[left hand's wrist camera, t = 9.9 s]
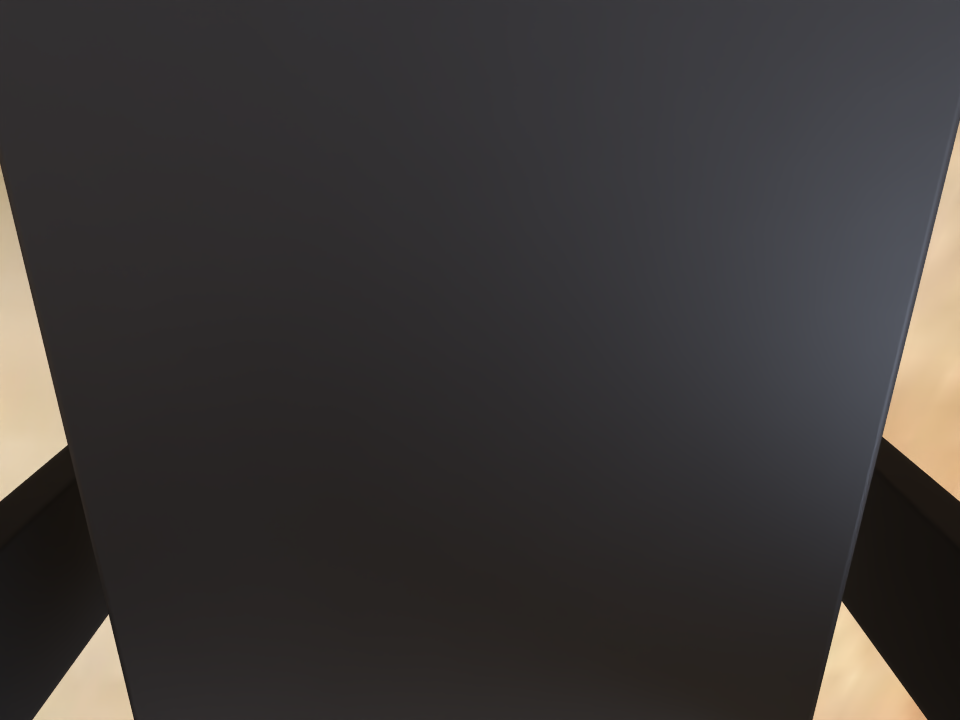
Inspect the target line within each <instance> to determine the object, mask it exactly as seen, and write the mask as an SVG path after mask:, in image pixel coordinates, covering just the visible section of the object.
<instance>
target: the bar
mask: <svg viewBox="0 0 960 720" xmlns="http://www.w3.org/2000/svg"><path fill="white" fill-rule="evenodd" d="M959 121H960V0H0V165H1V169H2V173H3V177H4V181H5V186H6V190H7V194H8V198H9V202H10V206H11V210H12V215H13V219H14V223H15V227H16V231H17V235H18V240H19V244H20V248H21V252H22V256H23V260H24V264H25V269H26V273H27V277H28V281H29V285H30V289H31V294H32V298H33V302H34V306H35V310H36V314H37V318H38V323H39V327H40V331H41V335H42V339H43V343H44V347H45V352H46V356H47V360H48V364H49V368H50V372H51V377H52V381H53V385H54V389H55V393H56V397H57V401H58V406H59V410H60V414H61V418H62V422H63V426H64V431H65V435H66V439H67V443H68V447H69V451H70V455H71V460H72V464H73V468H74V472H75V476H76V480H77V485H78V489H79V493H80V497H81V501H82V505H83V509H84V514H85V518H86V522H87V526H88V530H89V534H90V539H91V543H92V547H93V551H94V555H95V559H96V563H97V568H98V572H99V576H100V580H101V584H102V588H103V592H104V597H105V601H106V605H107V609H108V613H109V617H110V622H111V626H112V630H113V634H114V638H115V642H116V646H117V651H118V655H119V659H120V663H121V667H122V671H123V676H124V680H125V684H126V688H127V692H128V696H129V700H130V705H131V709H132V713H133V717H134V720H813V716H814V712H815V707H816V703H817V699H818V695H819V691H820V687H821V683H822V679H823V675H824V671H825V667H826V663H827V659H828V655H829V650H830V646H831V642H832V638H833V634H834V630H835V626H836V622H837V618H838V614H839V610H840V606H841V602H842V598H843V593H844V589H845V585H846V581H847V577H848V573H849V569H850V565H851V561H852V557H853V553H854V549H855V545H856V541H857V536H858V532H859V528H860V524H861V520H862V516H863V512H864V508H865V504H866V500H867V496H868V492H869V488H870V484H871V479H872V475H873V471H874V467H875V463H876V459H877V455H878V451H879V447H880V443H881V439H882V435H883V431H884V427H885V422H886V418H887V414H888V410H889V406H890V402H891V398H892V394H893V390H894V386H895V382H896V378H897V374H898V370H899V365H900V361H901V357H902V353H903V349H904V345H905V341H906V337H907V333H908V329H909V325H910V321H911V317H912V313H913V308H914V304H915V300H916V296H917V292H918V288H919V284H920V280H921V276H922V272H923V268H924V264H925V260H926V256H927V251H928V247H929V243H930V239H931V235H932V231H933V227H934V223H935V219H936V215H937V211H938V207H939V203H940V199H941V194H942V190H943V186H944V182H945V178H946V174H947V170H948V166H949V162H950V158H951V154H952V150H953V146H954V142H955V137H956V133H957V129H958V125H959Z"/></svg>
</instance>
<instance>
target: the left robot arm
mask: <svg viewBox="0 0 960 720" xmlns="http://www.w3.org/2000/svg"><path fill="white" fill-rule="evenodd" d="M842 602H843V603H844V605H845V606H846V607H847V609H848V610H849V612H850V613H851V614H852V616H853V617H854V618H855V620H856V621H857V623H858V624H859V625H860V627H861V628H862V630H863V631H864V632H865V634H866V635H867V636H868V638H869V639H870V641H871V642H872V643H873V645H874V646H875V648H876V649H877V650H878V652H879V653H880V654H881V656H882V657H883V659H884V660H885V661H886V663H887V664H888V666H889V667H890V668H891V670H892V671H893V673H894V674H895V675H896V677H897V678H898V679H899V681H900V682H901V684H902V685H903V686H904V688H905V689H906V691H907V692H908V693H909V695H910V696H911V697H912V699H913V700H914V702H915V703H916V704H917V706H918V707H919V709H920V710H921V711H922V713H923V714H924V715H925V717H926V718H927V720H960V501H958V500H957V499H956V498H955V497H954V496H952V495H951V494H950V493H949V492H948V491H946V490H945V489H944V488H943V487H942V486H940V485H939V484H938V483H937V482H936V481H935V480H933V479H932V478H931V477H930V476H929V475H927V474H926V473H925V472H924V471H923V470H921V469H920V468H919V467H918V466H917V465H915V464H914V463H913V462H912V461H911V460H909V459H908V458H907V457H906V456H905V455H903V454H902V453H901V452H900V451H899V450H898V449H896V448H895V447H894V446H893V445H892V444H890V443H889V442H888V441H887V440H886V439H884V438H883V437H882V439H881V443H880V447H879V451H878V455H877V459H876V463H875V467H874V471H873V475H872V479H871V484H870V488H869V492H868V496H867V500H866V504H865V508H864V512H863V516H862V520H861V524H860V528H859V532H858V536H857V541H856V545H855V549H854V553H853V557H852V561H851V565H850V569H849V573H848V577H847V581H846V585H845V589H844V593H843V598H842ZM108 614H109V613H108V609H107V605H106V601H105V597H104V592H103V588H102V584H101V580H100V576H99V572H98V568H97V563H96V559H95V555H94V551H93V547H92V543H91V539H90V534H89V530H88V526H87V522H86V518H85V514H84V509H83V505H82V501H81V497H80V493H79V489H78V485H77V480H76V476H75V472H74V468H73V464H72V460H71V455H70V451H69V447H68V445H67V446H66V447H65V448H64V449H62V450H61V451H60V452H59V453H58V454H57V455H55V456H54V457H53V458H52V459H51V460H49V461H48V462H47V463H46V464H45V465H43V466H42V467H41V468H40V469H39V470H37V471H36V472H35V473H34V474H33V475H31V476H30V477H29V478H28V479H27V480H25V481H24V482H23V483H22V484H21V485H20V486H18V487H17V488H16V489H15V490H14V491H12V492H11V493H10V494H9V495H8V496H6V497H5V498H4V499H3V500H2V501H0V720H33V718H34V717H35V715H36V714H37V713H38V711H39V710H40V709H41V707H42V706H43V704H44V703H45V702H46V700H47V699H48V697H49V696H50V695H51V693H52V692H53V691H54V689H55V688H56V686H57V685H58V684H59V682H60V681H61V679H62V678H63V677H64V675H65V674H66V673H67V671H68V670H69V668H70V667H71V666H72V664H73V663H74V661H75V660H76V659H77V657H78V656H79V654H80V653H81V652H82V650H83V649H84V648H85V646H86V645H87V643H88V642H89V641H90V639H91V638H92V636H93V635H94V634H95V632H96V631H97V630H98V628H99V627H100V625H101V624H102V623H103V621H104V620H105V618H106V617H107V616H108Z"/></svg>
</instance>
